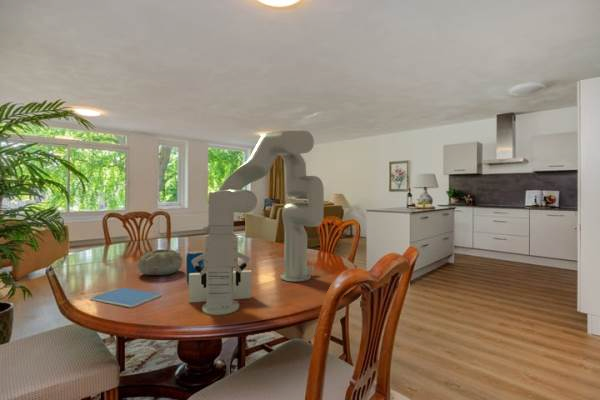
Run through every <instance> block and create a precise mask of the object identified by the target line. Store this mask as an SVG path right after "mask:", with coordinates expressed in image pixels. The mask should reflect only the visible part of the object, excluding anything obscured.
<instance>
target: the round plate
mask: <svg viewBox="0 0 600 400" xmlns="http://www.w3.org/2000/svg"><path fill="white" fill-rule="evenodd" d="M201 308H202V309H201V310H202V312H203V314H206V315H209V316H223V315H228V314H233V313H235V312H236V311H238V310H239V308H240V303H239V301H237V300H235V299H233V303H232V307H231V309H221V310H207V302H205V303H204V304H203V305H202V307H201Z"/></svg>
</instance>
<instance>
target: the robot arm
mask: <svg viewBox="0 0 600 400" xmlns="http://www.w3.org/2000/svg"><path fill="white" fill-rule="evenodd" d="M314 145H315V140H314V136H313V134H312V133H311V132H309V131H308V130H280V131H272V132H270V131H269V132H266V133H264V134H262V135H261V136H260V138H259V139H258V141H257V143H256V145H255V147H254V148H253V150H252V151H251V153H250V155H249V157H248V158H247V160H246V162H244V163H243V164H242V165H240V166H238V167H237V168H236V169H235V170H234V171H233V172H232V173H230V174H229V175H228V176H227V177H226V178H225V179H224V181H223V182H222V185H221V186H220V187H219V189H217V190H216V189H213V190H211V191H209V193H208V198H207V202H208V204H207V205H208V206H207V208H208V210H207V211H208V213H207V214H208V218H207V219H208V221H207V223H208V225H207V226H203V228H202V229H203V232H206V233H208V234H206V235H205V237H204V239H205V240H204V247H203V254H202V255H200V256H198V257H196V258H194V259H193V260H192V261H191V262H192V264H193V266H194V267H195V269H196V270H197V271H198V272H199V273H200V274H201V285H204V288H206V272H207V268H217V267H231V268H233V269H235V271H236V285H237V286H238V285H239V282H241V272H242V271H244V270H245V269H246V267H247V265H248V263H249V262H250V260H251V259H250V257H249V256H247V255H245V254H243V253H242V252H239V245H238V244H239V243H238V238H237V234H235V230H234V225H235V224H234V221H235V220H234V217H235V216H234V214H235V213H241V214H246V213H251V212H252V211H253V210H255V208H256V207H257V205H258V198H257V196H256V194H255V193H254V192H253V191H251V190H248V189H244V188H245V187H246V186H248V185H249V184H252V183H254V182H256V181H259V180H261V179H263V178H265V177H266V176H267V175H268V174H269V173H270V171H271V169H272V167H273V164H274V163H275V161H276V160H277V157H278V156H280V157H281V159H282V161H283V162H284V168H285V193H286V196H287V198H289V199H292V200H293V199H294V200H307V202H302V201H298V202H297V201H294V202H293V201H292V202H288V203H286V204H285V205H284V206H283V207H282V212H281V217H282V222H283V230H284V242H283V243H284V246H283V247H284V251H283V252H284V253H283V254H284V256H283V257H284V261H283V263H284V265H283V266H284V267H283V268H284V269H283V272H282V273H281V274H279V275H280V280H283V281H285V282H290V283H291V282H292V283H293V282H294V283H296V282H297V283H299V282H307V281H309V280H310V279H311V277H312V276H311V274H310V273H309V272H310V271H314V270H315V266H314V265H310V266H309V265H308V234H307V231H306V229H305V227H312V228H313V227H319V226H320V225H321V224H322V223H323V220H324V208H325V207H324V205H325V204H324V202H325V199H324V197H325V193H324V191H325V190H324V184H323V181H322V179H321V178H320V177H318V176H316V175H308V174H307V165H306V161H305V159H304V157H303V156H302V154H307V153H310V152H311V151H312V150H313V148H314ZM202 259H204V267H203V268H201V267H200V266H199V265H198V263H197V262H198V261H200V260H202ZM239 259H241V260H243V262H242V263H241V264H240V265H239Z"/></svg>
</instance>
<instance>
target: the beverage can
mask: <svg viewBox="0 0 600 400" xmlns="http://www.w3.org/2000/svg"><path fill="white" fill-rule="evenodd" d="M202 254H204V250H189V251H187V254H186V259H185V260H186V263H185V264H186V283H188V284H189V273H199V272H198V271H197V270H196V269H195V267H194V266H193V264H192V262H191V261H192V260H193V259H194V258H196V257H198V256H200V255H202ZM197 263H198V265H199V266H200V267H201V268H203V267H204V259H202V260H200V261H198V262H197Z"/></svg>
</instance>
